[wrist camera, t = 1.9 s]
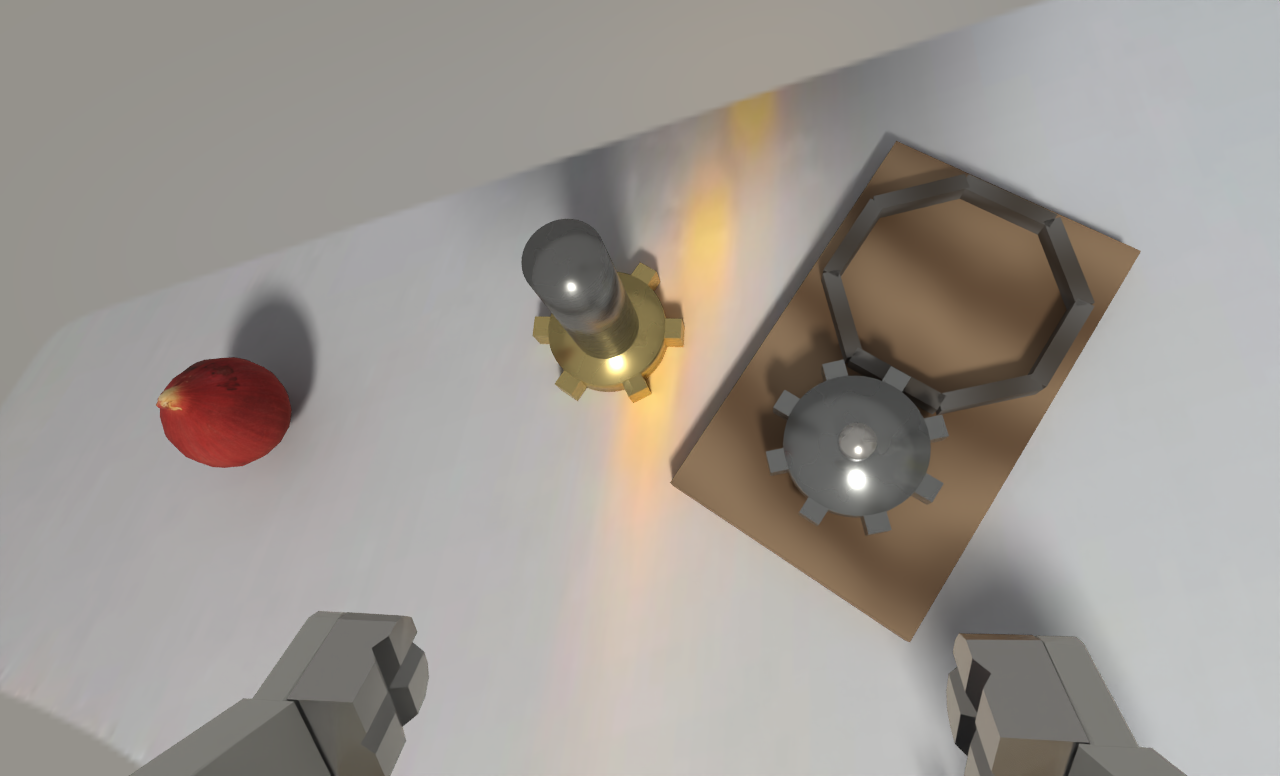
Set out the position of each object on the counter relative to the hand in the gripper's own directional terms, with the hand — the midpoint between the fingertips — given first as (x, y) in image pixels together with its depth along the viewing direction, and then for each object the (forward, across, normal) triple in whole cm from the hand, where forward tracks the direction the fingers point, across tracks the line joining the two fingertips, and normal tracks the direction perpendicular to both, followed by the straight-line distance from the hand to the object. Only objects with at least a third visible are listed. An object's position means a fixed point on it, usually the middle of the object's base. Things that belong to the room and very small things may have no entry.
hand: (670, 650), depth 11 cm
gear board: (+26, -9, +9) cm, 29 cm away
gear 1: (+28, +6, +8) cm, 29 cm away
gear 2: (+22, -6, +11) cm, 25 cm away
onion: (+24, +26, +11) cm, 38 cm away
